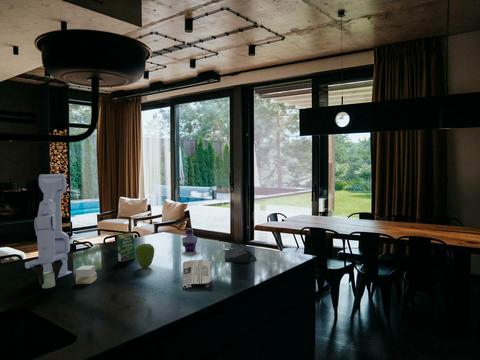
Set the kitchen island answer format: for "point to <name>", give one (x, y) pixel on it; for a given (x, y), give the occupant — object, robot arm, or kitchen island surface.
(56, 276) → the robot arm
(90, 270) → the tower top block
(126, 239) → the coffee box
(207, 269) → the newspaper
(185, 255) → the kitchen island surface
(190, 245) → the potion bottle
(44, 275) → the sage cylinder
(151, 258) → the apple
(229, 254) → the dark slate chunk
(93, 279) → the tower base block
